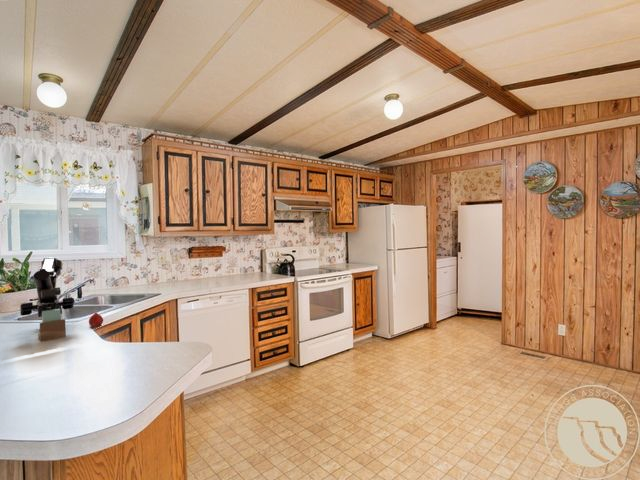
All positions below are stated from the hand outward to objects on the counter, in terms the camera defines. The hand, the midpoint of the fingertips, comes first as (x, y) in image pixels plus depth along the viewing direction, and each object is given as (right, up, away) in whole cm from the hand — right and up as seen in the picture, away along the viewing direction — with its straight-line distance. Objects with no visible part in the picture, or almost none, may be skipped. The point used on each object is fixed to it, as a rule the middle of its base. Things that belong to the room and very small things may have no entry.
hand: (50, 321), depth 150 cm
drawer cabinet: (-1, -8, +2) cm, 9 cm away
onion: (+9, -8, +17) cm, 21 cm away
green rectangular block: (+1, -7, -1) cm, 7 cm away
